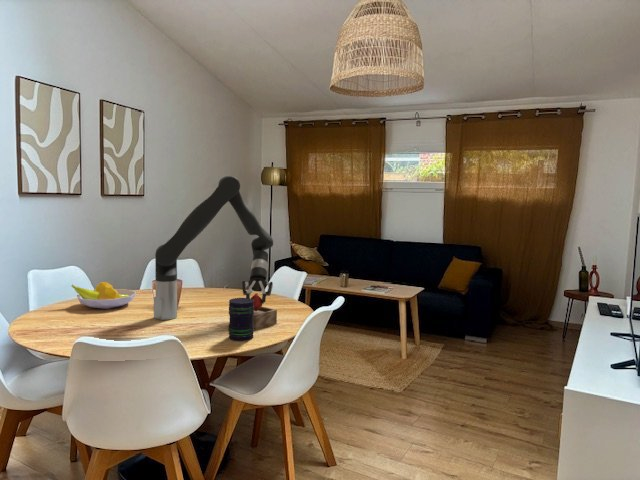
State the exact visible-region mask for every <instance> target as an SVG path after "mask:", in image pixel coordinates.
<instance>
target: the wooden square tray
mask: <svg viewBox="0 0 640 480" xmlns="http://www.w3.org/2000/svg"><path fill="white" fill-rule="evenodd" d="M277 315H278V309H276V308H271V307H266V306H262V307H261V308H260V309H258V310H257V311H254V314H253V324H254V331H255V330H258V329H263V328H266V327H269V326H273V325H276V324H277V318H278V316H277Z"/></svg>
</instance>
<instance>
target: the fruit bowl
mask: <svg viewBox="0 0 640 480" xmlns="http://www.w3.org/2000/svg"><path fill="white" fill-rule="evenodd" d="M71 287H72V288H73V289H74V291H75V292H76V293H77V295H76V297H77V299H78V301H79V304H82V305H84V306H87V307H89V308H93V309H103V310H110V309H113V308H119V307H123V306H125V305H126V304H128V303H130V302H133V300H134V298H135V296H136V295H137V292H136V291H134V290H133V289H125V288H124V289H123V288H114V286H113V285H112V284H110V283H109V282H107V281H101V282H99V283H98V284H97V285H96V286H95V288H94V290H90V289H87V288H84V287H79V286H75V285H74V284H72V285H71Z"/></svg>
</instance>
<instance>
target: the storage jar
mask: <svg viewBox="0 0 640 480" xmlns="http://www.w3.org/2000/svg"><path fill="white" fill-rule="evenodd" d="M253 314H254V300H253V299H251V297H250V298H246V297H235V298H231V299H229V301H228V315H229V322H228V323H229V324H228V339H229V340H231V341H234V342H247V341H250V340H253V339H254V332H255V329H254V324H253Z"/></svg>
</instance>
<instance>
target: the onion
mask: <svg viewBox="0 0 640 480" xmlns="http://www.w3.org/2000/svg"><path fill="white" fill-rule="evenodd" d="M250 299H253V300H254V311H257V310H258V309H260V308H261V307H263V304H262V297H261V296H259V295H258V293H257V292H256V293H254V295H252V296H250Z"/></svg>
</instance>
